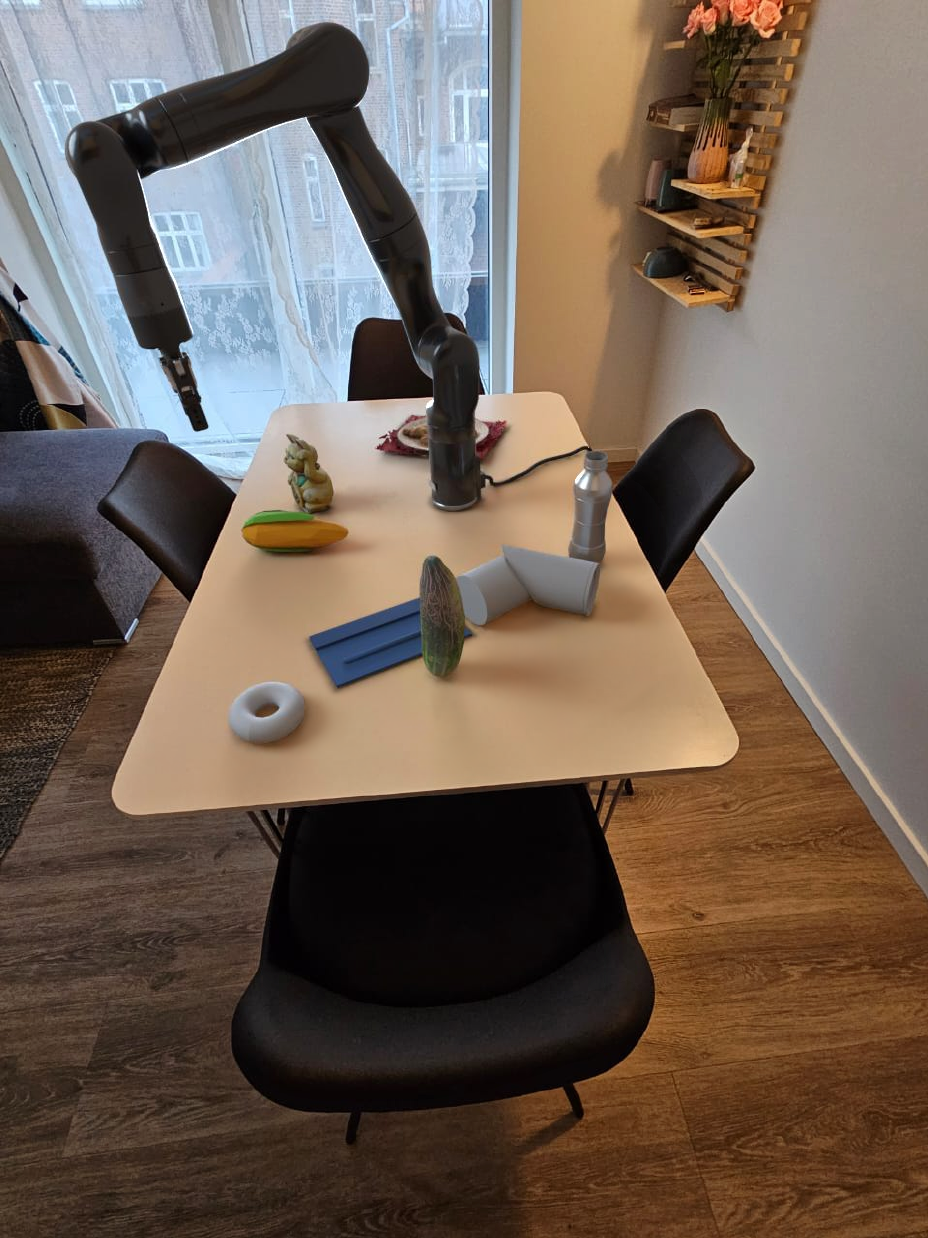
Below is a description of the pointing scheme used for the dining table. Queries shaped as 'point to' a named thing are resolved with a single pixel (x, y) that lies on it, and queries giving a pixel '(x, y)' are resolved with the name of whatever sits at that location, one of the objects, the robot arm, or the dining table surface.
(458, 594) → the vegetable
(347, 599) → the dining table surface
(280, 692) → the donut
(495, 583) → the elbow connector
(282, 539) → the corn
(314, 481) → the decorative figurine
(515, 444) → the dining table surface
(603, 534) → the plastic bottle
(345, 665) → the blue rectangular panel
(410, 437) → the plate with food
